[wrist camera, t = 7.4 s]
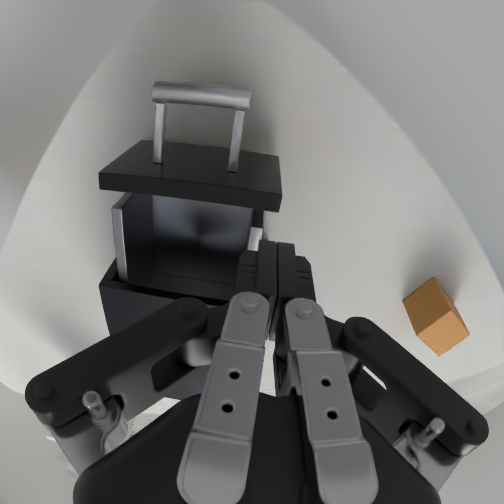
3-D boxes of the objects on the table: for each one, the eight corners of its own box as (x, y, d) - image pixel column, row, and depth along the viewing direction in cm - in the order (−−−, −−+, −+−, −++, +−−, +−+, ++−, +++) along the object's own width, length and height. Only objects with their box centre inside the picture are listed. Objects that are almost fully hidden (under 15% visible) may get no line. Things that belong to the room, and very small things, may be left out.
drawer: (144, 75, 21) (97, 85, 15) (291, 89, 22) (301, 101, 15) (144, 269, 32) (118, 323, 25) (254, 286, 32) (249, 346, 26)
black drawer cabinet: (139, 222, 30) (98, 285, 22) (268, 240, 30) (267, 313, 22) (147, 325, 38) (124, 388, 30) (247, 341, 38) (242, 409, 30)
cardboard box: (402, 300, 34) (416, 335, 29) (433, 276, 32) (451, 309, 27) (425, 324, 36) (438, 356, 31) (453, 303, 34) (470, 334, 29)
